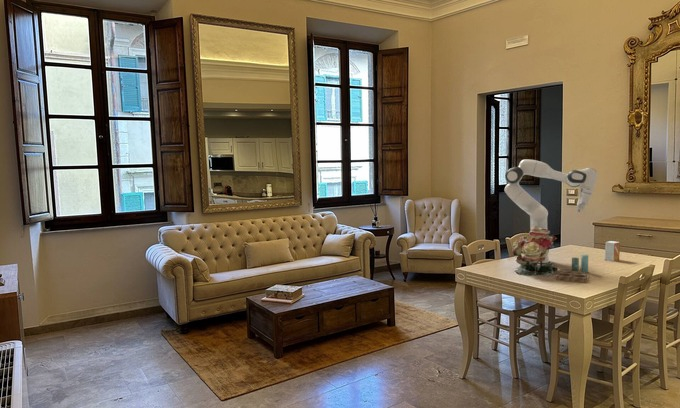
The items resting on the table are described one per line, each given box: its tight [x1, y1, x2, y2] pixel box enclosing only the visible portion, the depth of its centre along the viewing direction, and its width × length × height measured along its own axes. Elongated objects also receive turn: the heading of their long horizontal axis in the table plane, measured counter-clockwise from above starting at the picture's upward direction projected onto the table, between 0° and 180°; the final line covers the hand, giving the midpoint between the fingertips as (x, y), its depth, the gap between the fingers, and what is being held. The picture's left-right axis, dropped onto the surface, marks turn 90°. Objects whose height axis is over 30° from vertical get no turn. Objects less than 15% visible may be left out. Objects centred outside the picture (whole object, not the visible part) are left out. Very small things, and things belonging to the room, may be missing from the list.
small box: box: [604, 240, 621, 262], centre depth 336 cm, size 8×6×13 cm
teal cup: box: [558, 257, 582, 274], centre depth 298 cm, size 12×7×10 cm, turn 61°
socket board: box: [556, 271, 588, 284], centre depth 286 cm, size 16×10×2 cm, turn 61°
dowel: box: [580, 254, 589, 274], centre depth 302 cm, size 4×4×11 cm
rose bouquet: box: [509, 226, 559, 277], centre depth 305 cm, size 26×29×30 cm
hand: (579, 211), depth 319 cm, fingers open, 8 cm apart
